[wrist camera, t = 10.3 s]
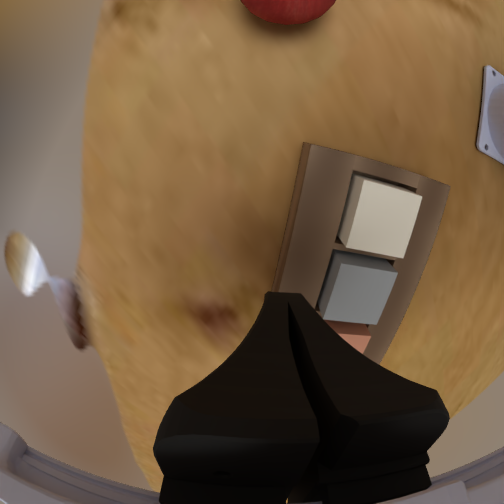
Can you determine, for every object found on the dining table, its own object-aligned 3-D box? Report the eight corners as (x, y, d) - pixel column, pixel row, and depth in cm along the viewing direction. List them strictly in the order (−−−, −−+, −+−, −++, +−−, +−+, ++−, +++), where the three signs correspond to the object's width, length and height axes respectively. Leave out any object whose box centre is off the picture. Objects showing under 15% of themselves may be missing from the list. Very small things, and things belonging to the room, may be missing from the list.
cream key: (403, 187, 17) (422, 196, 15) (387, 243, 19) (403, 258, 16) (350, 172, 17) (363, 179, 15) (335, 232, 19) (346, 247, 16)
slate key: (383, 256, 19) (397, 272, 17) (365, 304, 21) (376, 324, 18) (331, 246, 19) (341, 263, 17) (316, 298, 21) (322, 319, 18)
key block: (428, 178, 19) (450, 186, 16) (364, 352, 25) (373, 374, 22) (303, 142, 18) (311, 144, 15) (259, 342, 24) (259, 367, 22)
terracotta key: (361, 315, 21) (371, 336, 19) (344, 353, 23) (351, 375, 20) (312, 309, 21) (318, 331, 19) (299, 350, 23) (302, 372, 20)
